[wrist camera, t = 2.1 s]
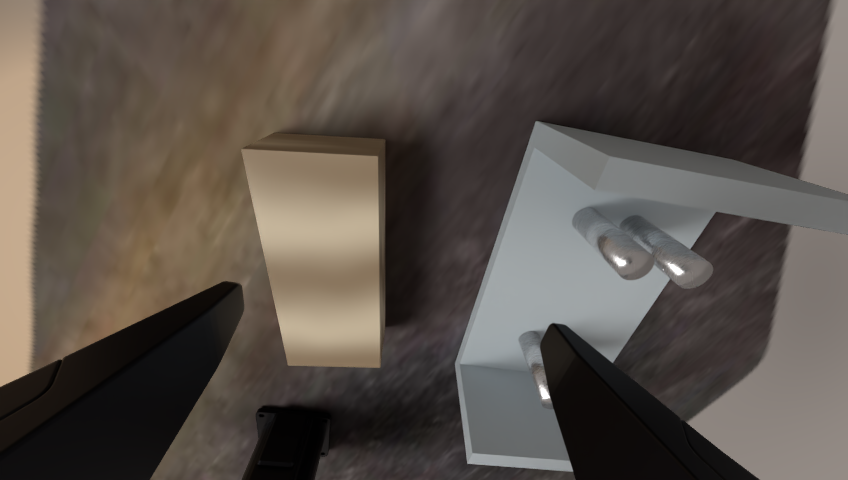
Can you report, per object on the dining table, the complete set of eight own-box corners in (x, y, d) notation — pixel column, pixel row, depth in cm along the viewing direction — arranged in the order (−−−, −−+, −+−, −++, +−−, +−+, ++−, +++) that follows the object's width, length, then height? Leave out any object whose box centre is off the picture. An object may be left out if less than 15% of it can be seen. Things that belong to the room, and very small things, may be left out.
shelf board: (385, 324, 25) (380, 367, 21) (306, 321, 24) (288, 365, 21) (385, 138, 18) (377, 156, 14) (276, 131, 17) (241, 148, 14)
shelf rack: (589, 378, 28) (643, 476, 21) (454, 364, 26) (467, 463, 20) (732, 159, 18) (907, 212, 12) (536, 120, 17) (610, 156, 11)
